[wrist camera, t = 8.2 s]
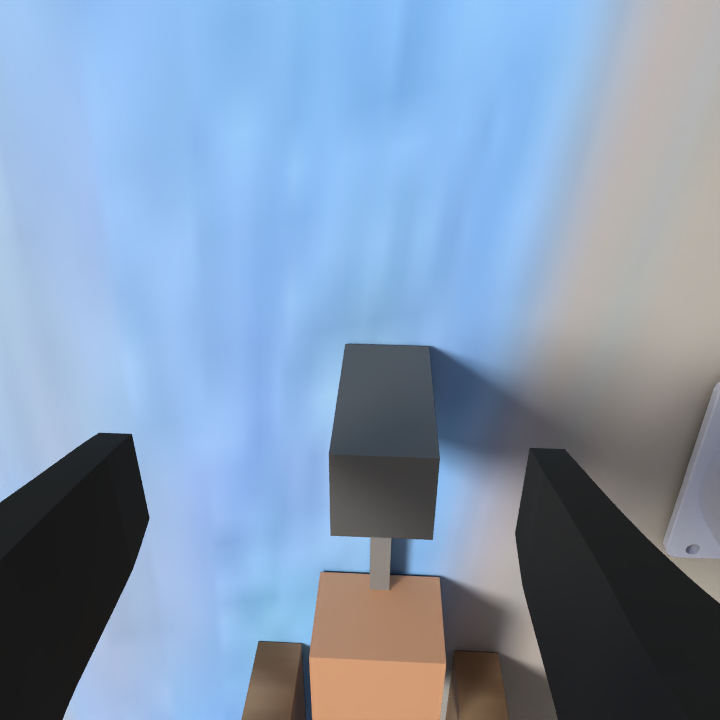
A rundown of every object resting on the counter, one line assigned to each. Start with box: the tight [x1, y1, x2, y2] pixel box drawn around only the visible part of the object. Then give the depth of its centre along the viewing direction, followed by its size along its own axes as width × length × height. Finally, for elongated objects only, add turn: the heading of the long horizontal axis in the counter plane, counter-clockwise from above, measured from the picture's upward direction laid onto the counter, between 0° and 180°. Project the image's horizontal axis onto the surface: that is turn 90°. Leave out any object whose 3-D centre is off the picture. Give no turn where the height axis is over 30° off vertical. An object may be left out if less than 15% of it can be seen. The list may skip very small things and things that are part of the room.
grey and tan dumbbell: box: [309, 344, 446, 720], centre depth 22 cm, size 5×16×6 cm, turn 179°
